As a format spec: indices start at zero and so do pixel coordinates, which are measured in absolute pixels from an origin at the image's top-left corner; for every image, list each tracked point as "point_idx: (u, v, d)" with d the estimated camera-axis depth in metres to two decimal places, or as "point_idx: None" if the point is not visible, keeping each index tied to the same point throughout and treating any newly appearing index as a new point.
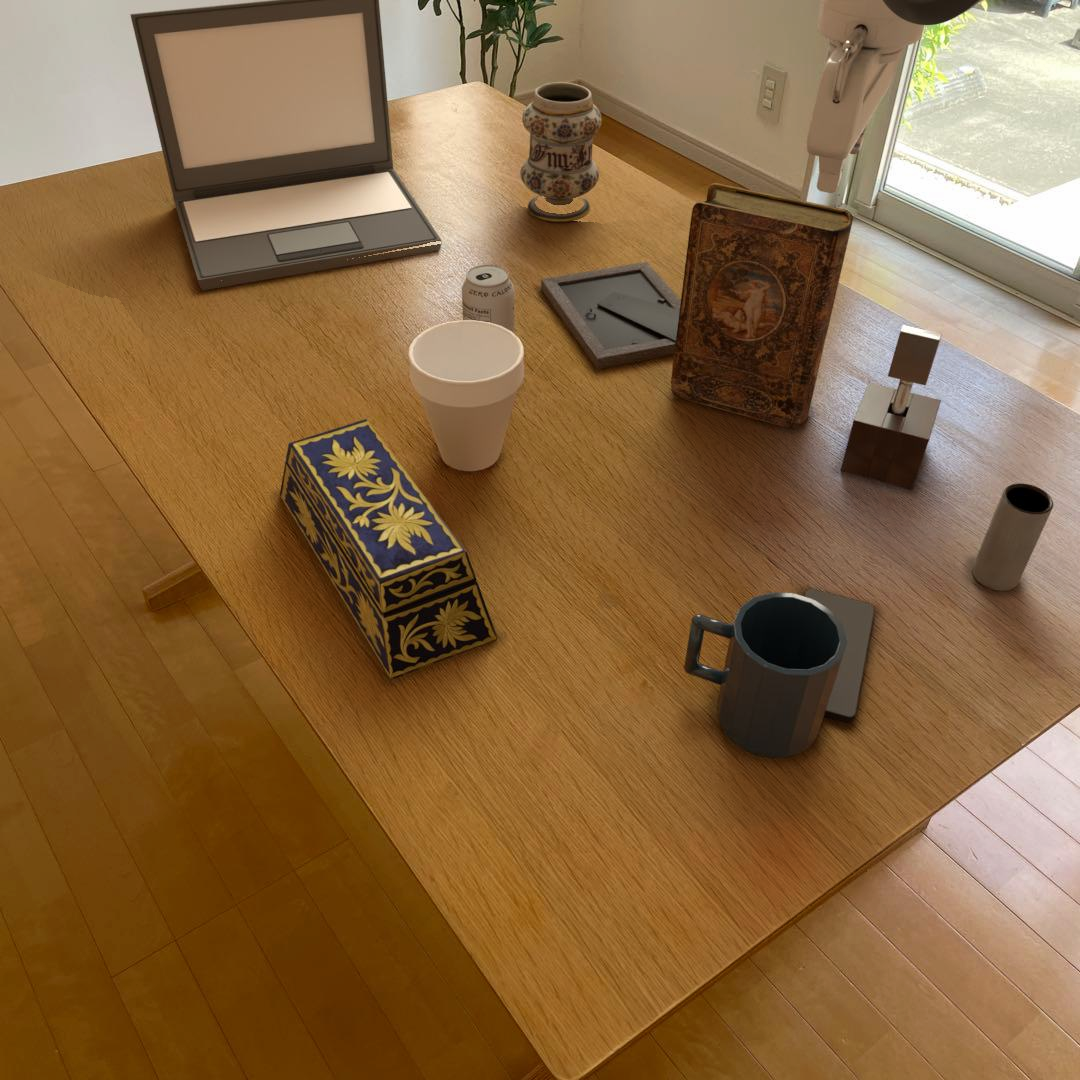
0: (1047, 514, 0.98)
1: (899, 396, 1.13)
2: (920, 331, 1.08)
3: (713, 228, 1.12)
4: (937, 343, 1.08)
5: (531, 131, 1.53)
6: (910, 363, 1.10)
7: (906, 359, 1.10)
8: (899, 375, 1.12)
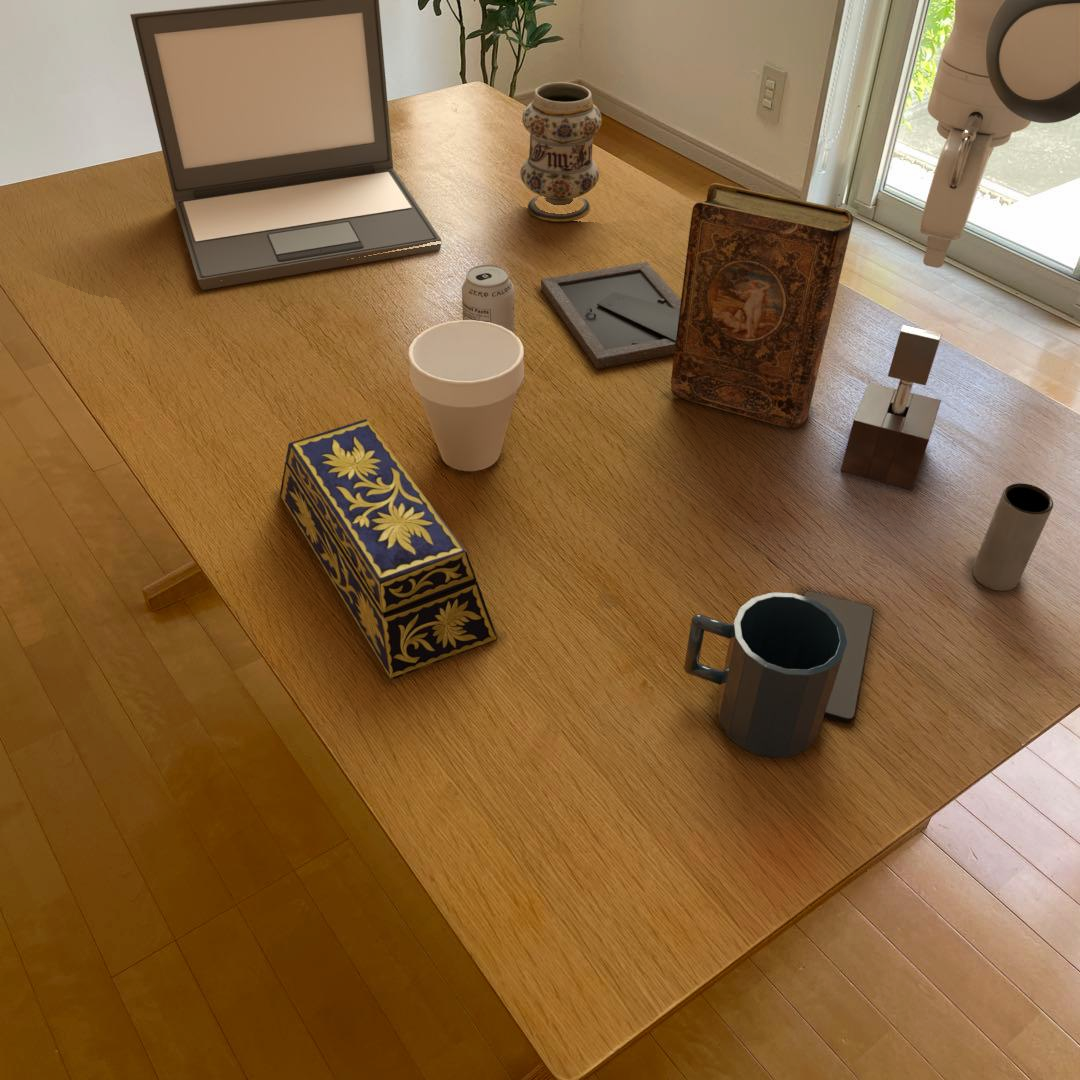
0: (1047, 514, 0.98)
1: (899, 396, 1.13)
2: (920, 331, 1.08)
3: (713, 228, 1.12)
4: (937, 343, 1.08)
5: (531, 131, 1.53)
6: (910, 363, 1.10)
7: (906, 359, 1.10)
8: (899, 375, 1.12)
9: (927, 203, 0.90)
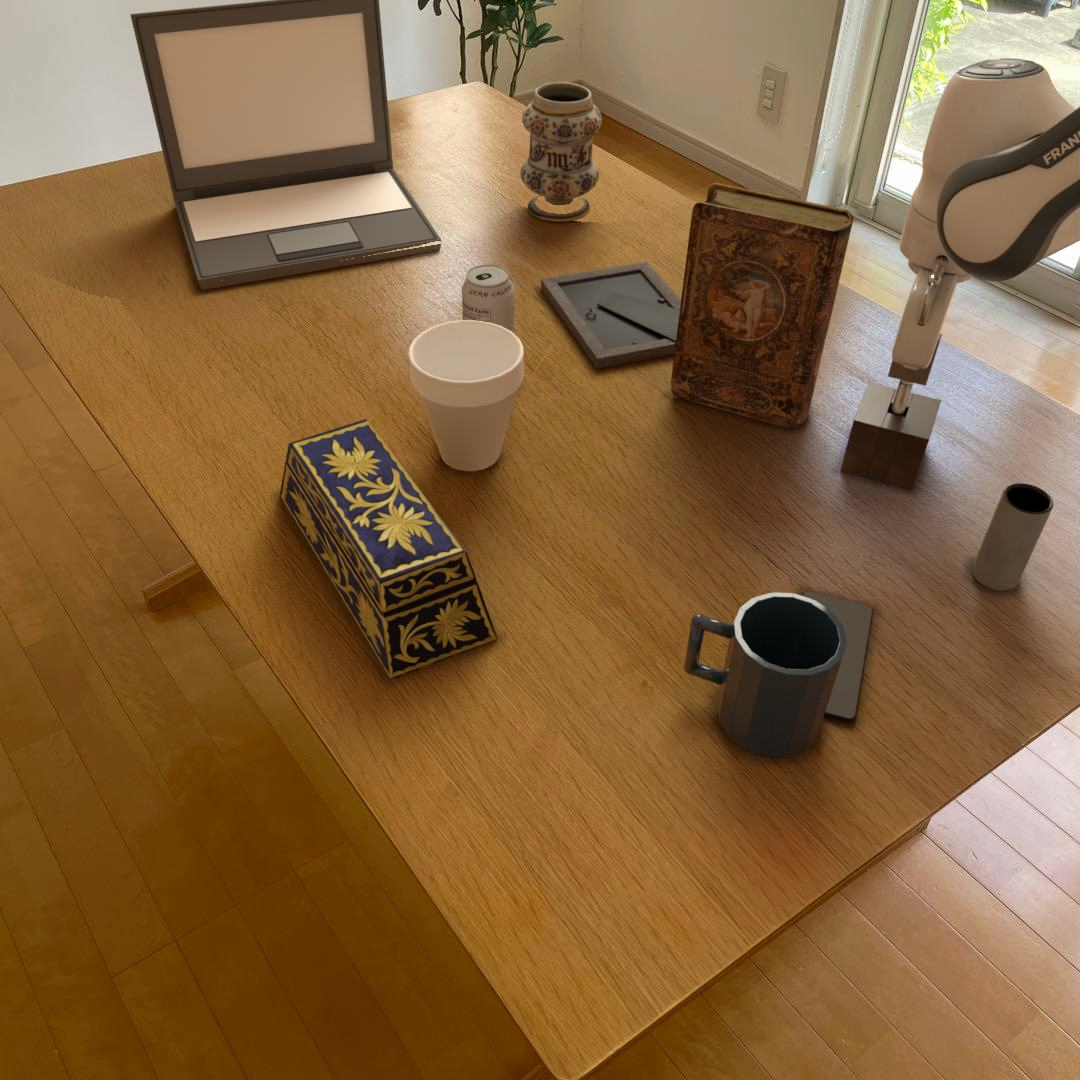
0: (1047, 514, 0.98)
1: (899, 396, 1.13)
2: None
3: (713, 228, 1.12)
4: (937, 343, 1.08)
5: (531, 131, 1.53)
6: None
7: None
8: (899, 375, 1.12)
9: (898, 337, 0.99)
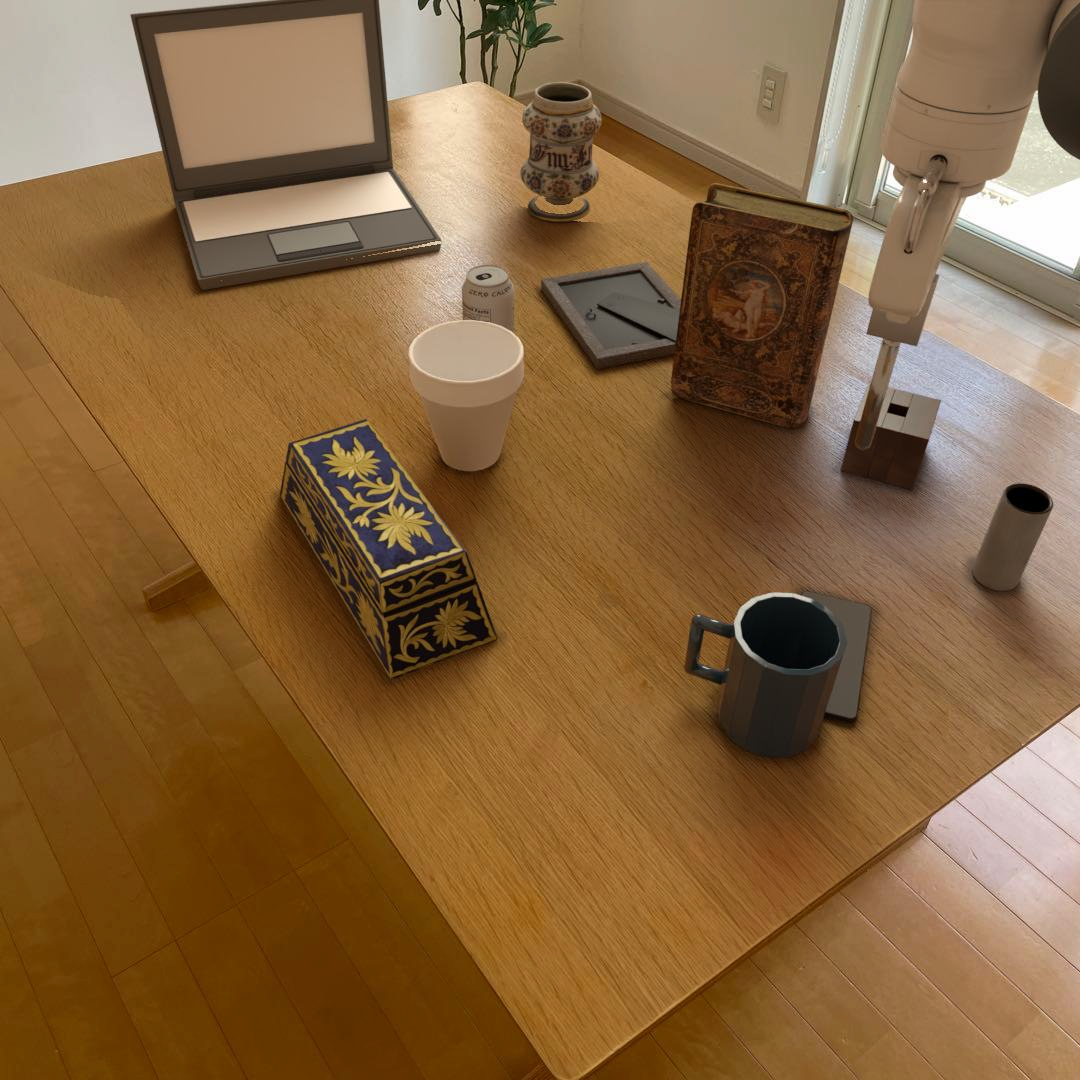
0: (1047, 514, 0.98)
1: (882, 361, 0.84)
2: None
3: (713, 228, 1.12)
4: (933, 287, 0.79)
5: (531, 131, 1.53)
6: None
7: None
8: (881, 332, 0.83)
9: (876, 271, 0.70)
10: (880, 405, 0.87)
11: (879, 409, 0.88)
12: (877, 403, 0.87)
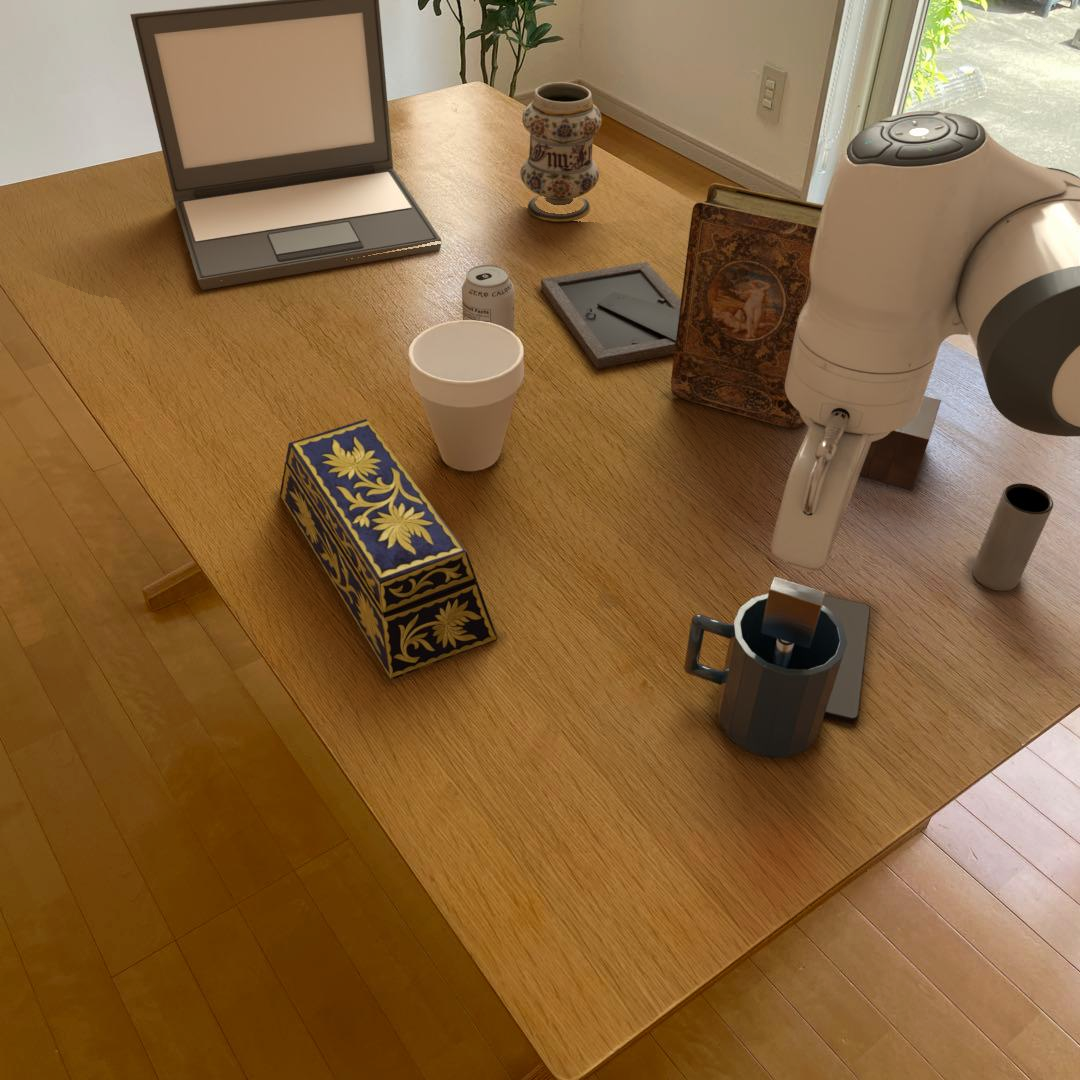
0: (1047, 514, 0.98)
1: (778, 654, 0.85)
2: (796, 589, 0.80)
3: (713, 228, 1.12)
4: (818, 608, 0.79)
5: (531, 131, 1.53)
6: (786, 623, 0.82)
7: (781, 619, 0.82)
8: (775, 634, 0.84)
9: (776, 527, 0.67)
10: None
11: None
12: None
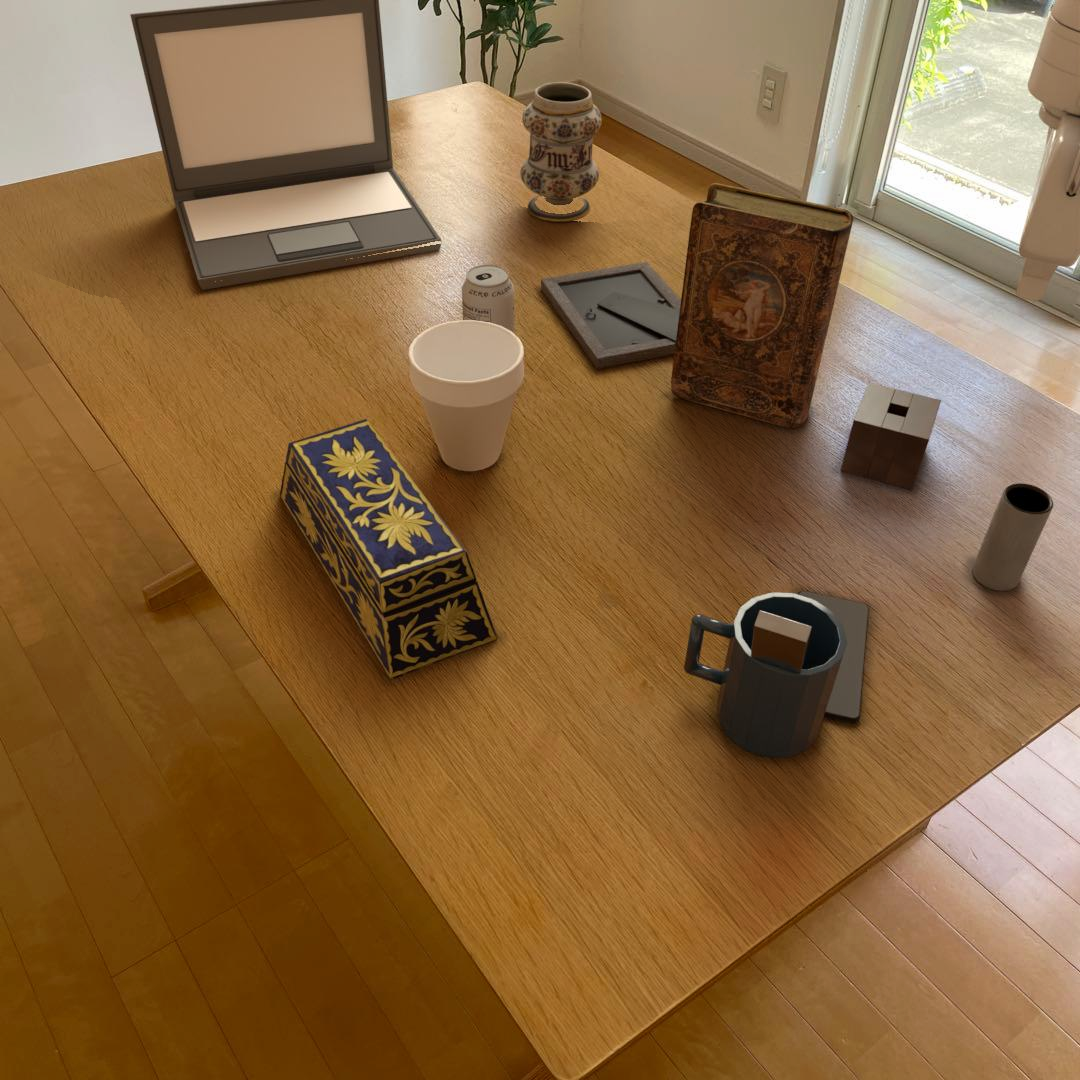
0: (1047, 514, 0.98)
1: None
2: (782, 624, 0.78)
3: (713, 228, 1.12)
4: (804, 644, 0.78)
5: (531, 131, 1.53)
6: (775, 652, 0.81)
7: (769, 648, 0.81)
8: (765, 658, 0.83)
9: (1032, 216, 0.66)
10: None
11: None
12: None
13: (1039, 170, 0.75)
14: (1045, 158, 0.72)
